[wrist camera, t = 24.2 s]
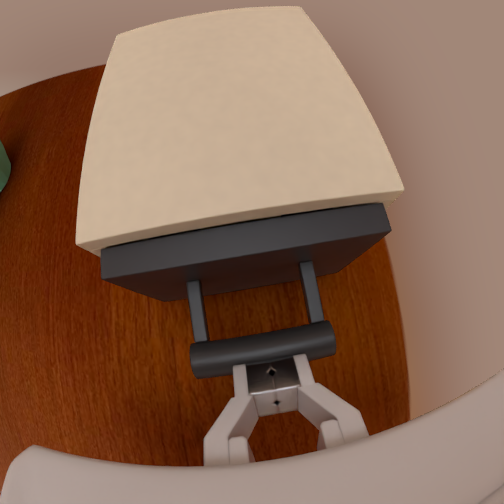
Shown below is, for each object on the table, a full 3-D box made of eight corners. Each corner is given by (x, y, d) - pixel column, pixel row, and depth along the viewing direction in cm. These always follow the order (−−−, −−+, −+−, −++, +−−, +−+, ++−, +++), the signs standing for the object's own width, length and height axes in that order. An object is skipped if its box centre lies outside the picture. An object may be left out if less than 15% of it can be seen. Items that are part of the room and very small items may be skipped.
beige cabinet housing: (338, 256, 19) (405, 190, 9) (157, 286, 18) (75, 244, 9) (289, 97, 23) (300, 6, 13) (152, 119, 22) (116, 34, 13)
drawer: (351, 338, 16) (417, 341, 9) (173, 369, 16) (115, 394, 8) (290, 109, 21) (300, 31, 13) (155, 131, 21) (123, 59, 13)
